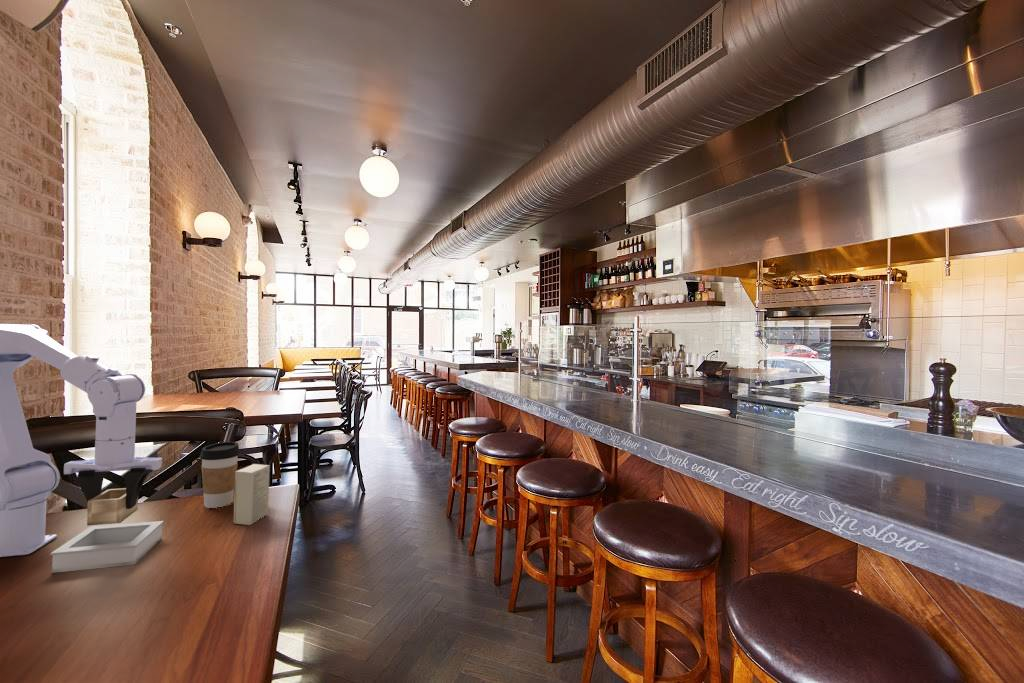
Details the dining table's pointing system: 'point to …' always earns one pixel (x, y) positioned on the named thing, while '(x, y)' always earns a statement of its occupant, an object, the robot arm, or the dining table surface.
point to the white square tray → (107, 546)
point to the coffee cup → (219, 473)
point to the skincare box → (251, 493)
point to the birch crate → (109, 508)
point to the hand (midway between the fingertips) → (113, 508)
